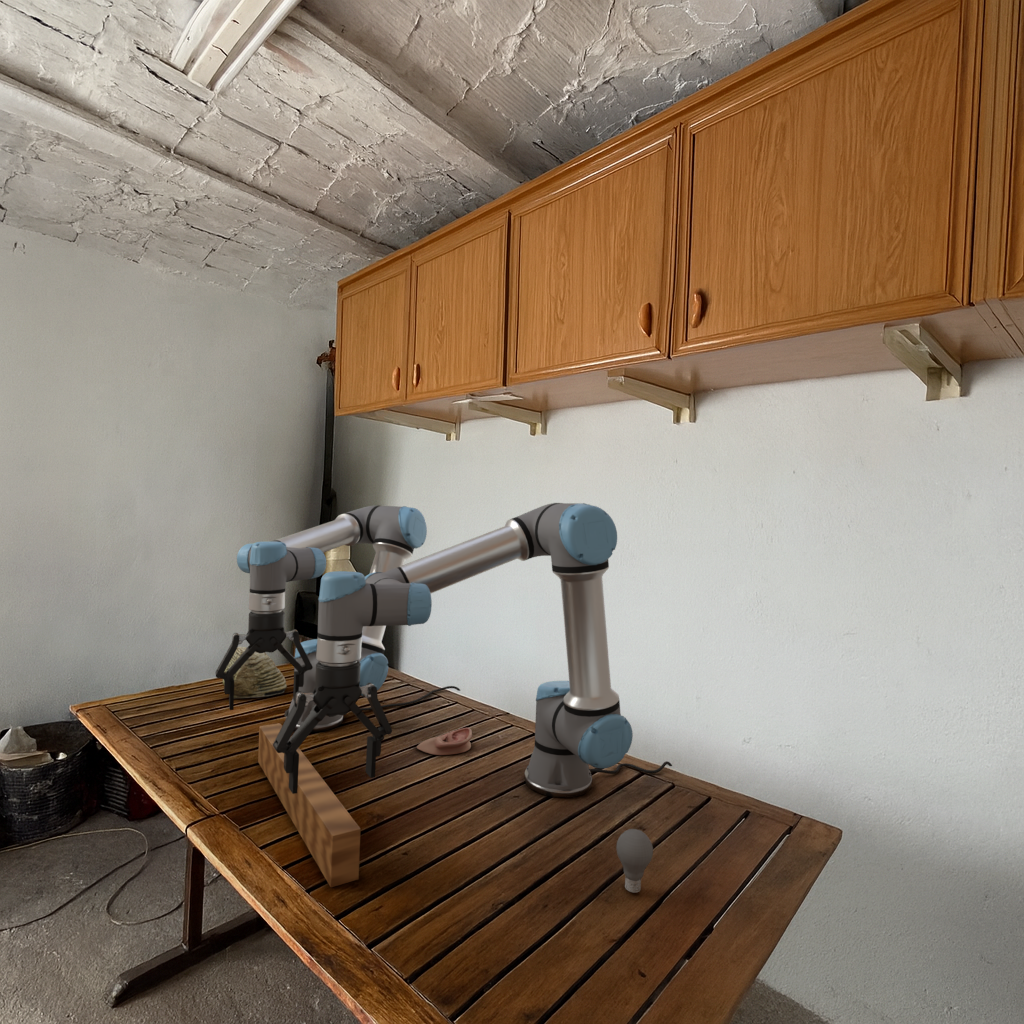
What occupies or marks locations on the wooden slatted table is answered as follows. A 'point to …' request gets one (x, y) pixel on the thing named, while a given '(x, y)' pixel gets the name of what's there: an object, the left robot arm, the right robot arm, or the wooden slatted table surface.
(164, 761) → the wooden slatted table surface
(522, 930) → the wooden slatted table surface
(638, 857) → the light bulb
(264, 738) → the post
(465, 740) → the anatomical model
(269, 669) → the fossil
